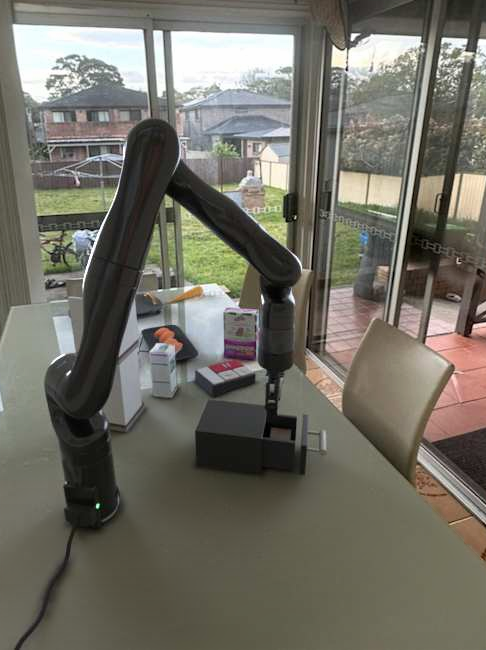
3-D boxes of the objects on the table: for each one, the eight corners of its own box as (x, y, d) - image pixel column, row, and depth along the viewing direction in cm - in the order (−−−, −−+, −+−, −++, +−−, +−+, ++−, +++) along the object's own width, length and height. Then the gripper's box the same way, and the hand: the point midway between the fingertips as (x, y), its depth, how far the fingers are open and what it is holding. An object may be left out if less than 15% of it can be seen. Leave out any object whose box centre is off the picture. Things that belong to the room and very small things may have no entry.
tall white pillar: (144, 408, 120) (133, 287, 107) (126, 432, 111) (112, 301, 98) (107, 402, 123) (92, 283, 110) (86, 425, 114) (67, 297, 101)
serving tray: (151, 297, 204) (150, 284, 202) (169, 313, 185) (169, 299, 183) (64, 312, 187) (62, 299, 185) (75, 332, 168) (73, 317, 166)
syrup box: (172, 398, 125) (169, 352, 119) (152, 396, 126) (148, 351, 121) (177, 388, 130) (175, 343, 125) (158, 386, 131) (155, 342, 126)
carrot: (200, 294, 210) (197, 285, 210) (205, 293, 206) (202, 284, 206) (165, 308, 199) (162, 298, 198) (170, 307, 195) (167, 297, 195)
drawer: (324, 444, 104) (327, 416, 101) (325, 478, 94) (328, 448, 91) (250, 435, 108) (250, 408, 105) (242, 467, 97) (243, 438, 94)
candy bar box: (258, 353, 150) (259, 309, 144) (256, 360, 146) (257, 314, 140) (226, 350, 153) (226, 306, 147) (223, 357, 148) (223, 311, 142)
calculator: (256, 371, 131) (213, 383, 123) (255, 384, 133) (213, 397, 125) (236, 357, 140) (194, 367, 132) (235, 369, 141) (194, 380, 134)
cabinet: (267, 438, 108) (268, 405, 104) (260, 475, 96) (261, 438, 93) (208, 432, 110) (208, 399, 107) (196, 466, 99) (194, 430, 95)
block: (268, 455, 99) (288, 458, 98) (269, 439, 97) (289, 441, 96) (270, 443, 103) (290, 445, 102) (271, 427, 101) (291, 429, 101)
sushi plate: (201, 360, 146) (200, 350, 145) (109, 378, 136) (108, 367, 134) (176, 328, 171) (176, 319, 170) (97, 340, 161) (96, 331, 160)
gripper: (262, 328, 98) (260, 391, 104) (253, 357, 85) (252, 427, 91) (296, 331, 97) (292, 395, 103) (292, 361, 84) (288, 432, 90)
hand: (273, 410), depth 97 cm, fingers open, 8 cm apart
